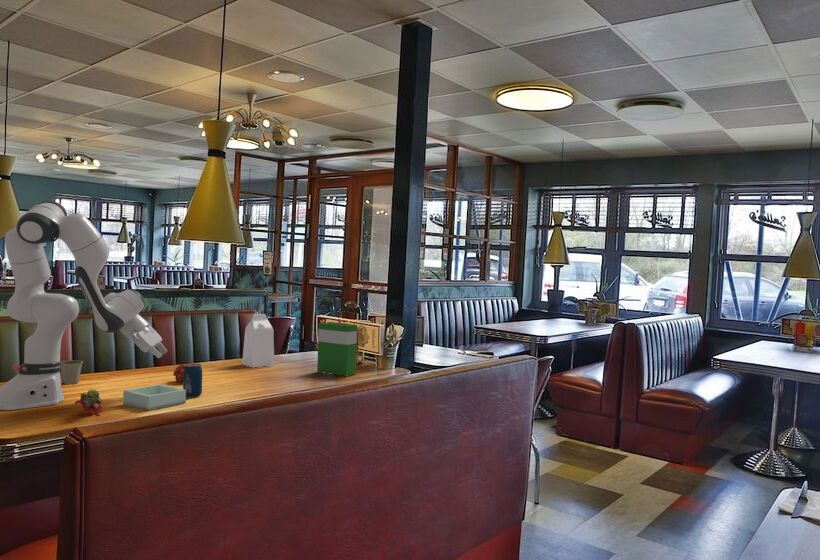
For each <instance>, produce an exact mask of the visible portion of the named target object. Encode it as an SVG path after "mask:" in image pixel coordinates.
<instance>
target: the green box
mask: <svg viewBox="0 0 820 560" xmlns="http://www.w3.org/2000/svg"><path fill="white" fill-rule="evenodd" d="M357 336H358V324H354V323H351V324H350V323H346V322H345V323H343V322H342V323H341V322H335V321H333V322H332V321H326V322H318V333H317V337H318V339H317V365H316V369H317V370H316V371H318V372H317V373H320V372H325V373H324V374H327V373H332V374H331V375H333V374H337V375H336V376H340V375H344V376H343V377H348V376H347V375H351V376H353V375H352V374H355V375H356V373H357V372H356V371H357V366H356V365H357V343H358V337H357Z"/></svg>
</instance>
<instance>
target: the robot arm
mask: <svg viewBox="0 0 820 560" xmlns="http://www.w3.org/2000/svg"><path fill="white" fill-rule="evenodd" d="M57 240H61V241H62V242H63V243H64V244H65V245H66V247H68V249H69V251H70V252H71V254H72V255H73V258H74V260H75V269H74V276H75V279H76V281H77V283H78V286H79V288H80V290H81V292H82V294H83V296H84V298H85V300H86V303H87V305H88V307H89V308H90V311H91V313H92V314H91V315H92V317H93V321H94V323H95V325H96V326H97V328H98V329H99V330H100V331H102V332H104V333H111V334H112V333H118V332H119V331H120V332H121V333H122V335H124V336H125V337H126V338H127V339H128V340H129V341H132V342H133V344H135V346H137V347H138V348H139V349H140V351H142V352H143V353H145V354H146V353H148V352H149V353H150V354H151V355H153V356H155V357H156V358H157V359H160V358H162V356H163V355H165V354H167V353H168V349H167V348H166V347H165V346H164V345H163V343H162V341H163V338H162V336H161V335H160V334H159V333H158V332H157V330H156V329H154V328H153V326H152V325H151V322H149V320H146V319H144V318H143V317H142V316H141V315H140V314H139V313H141V311H143V310H144V308H145V306H146V303H145V297H144V296H143V295H142V294H141V293H140V292H138V291H137V290H135V289H131V288H128V289H126V290H123V291H121V292H117V293H116V292H110V293H107V294H106V295H104V296H103V295H102V292H101V290H100V288H99V285H98V278H99V275H100V272H101V271H102V269H103V268H104V266H105V265H106V264H107V262H108V259H109V255H110V249H109V246H108V244H107V242H106V240H105V239H104V238H103V236H102V235H101V233H100V232H99V230H98V229H97V228H96V226H95V225H94V224H93V223H92V221H91V220H89V218H87V217H86V216H85V215H84V214H83V213H82V214H81V213H71V214H68V212H67V210H66V209H65V207H64V206H63V205H62V204H61V203H59V202H57V201H53V200H45V201H42V202H39V203H38V204H37V205H35V206H32V207H31V208H29V209H28V210H27V212H26V213H25V214H23V215H22V216H20V218H19V219H18V221H17V223H16V227H14V228H11V229H10V230H8V231H7V232H6V233H5V236H4V242H5V243H4V244H5V245H4V246H5V249H6V255H7V258H8V262H9V265H10V268H11V272H12V275H13V279H14V284H15V285H14V287H15V289H14V292H13V294H12V296H11V297H10V298H9V299H8V301H7V305H6V310H7V314H8V316H9V317H10V318H11V319H14V320H16V321H19V322H22V323H30V324H37V327H36V329H35V331H34V333H33V334H32V335H30V336H28V337H27V338H26V339H25V341H24V353H23V354H24V361H23V362H22V363H21V364H18V363H14V364H13V366H12V369H13V370H15V371H18V373H17V374H16V375H15V376H14V377H13V378H10V380H8V381H7V382H5V384H3V385H1V387H0V411H1V410H2V411H14V410H15V411H16V410H23V409H31V408H38V407H45V406H53V405H58V404H59V403H60V402H62V401H64V400H65V396H64V392H63V388H62V381H61V362H62V360H61V345H62V344H61V343H62V339H63V335H64V333H65V331H66V330H67V328H68V326H69V325H70V324H71V323H72V322H74V321H75V320H76V319H77V318H78V316H79V314H80V305H79V302H78V301H77V299H75V297H74V296H71V295H67V294H63V293H52V292H51V293H50V292H46V291H45V289H44V287H45V285H44V284H45V283H47V282H48V281H49V279H50V278H51V275H52V272H51V268H50V264H49V262H48V259H47V258H48V257H47V255H46V252H45V248H44V243H53V242H56V241H57Z"/></svg>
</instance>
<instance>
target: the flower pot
mask: <svg viewBox="0 0 820 560" xmlns="http://www.w3.org/2000/svg"><path fill="white" fill-rule="evenodd" d="M83 363H84V361H83V360H61V375H60V380H61V384H62V383H64V384H63V385H74V384H78V383H80V377H81V371H82V367H83Z"/></svg>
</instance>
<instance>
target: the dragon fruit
mask: <svg viewBox="0 0 820 560" xmlns="http://www.w3.org/2000/svg"><path fill="white" fill-rule="evenodd" d="M187 364H188V363H187ZM187 364H186V363H181V364H179V365H178V366H176V368H175V370H173V374H172V376H173V377H175V378H174V379H175V381H176V383H177V382H181V383H183V370H184V368H185V365H187Z"/></svg>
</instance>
